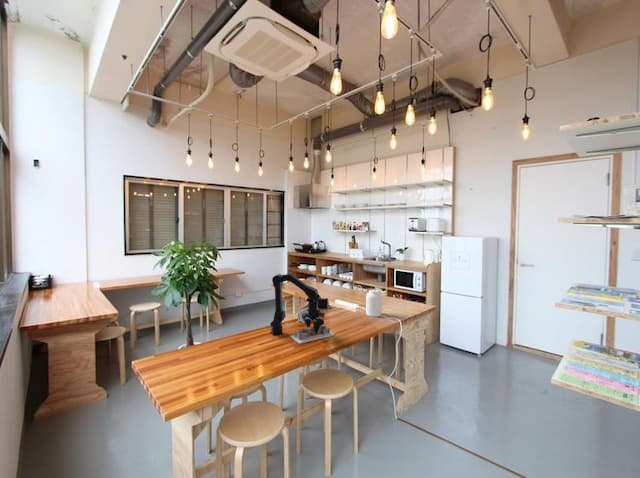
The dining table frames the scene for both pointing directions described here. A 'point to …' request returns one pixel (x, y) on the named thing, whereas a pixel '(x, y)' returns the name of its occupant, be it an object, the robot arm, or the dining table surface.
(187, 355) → the dining table surface
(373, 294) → the can
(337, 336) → the dining table surface
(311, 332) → the slat
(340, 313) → the dining table surface
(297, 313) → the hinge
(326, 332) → the end cap plate
